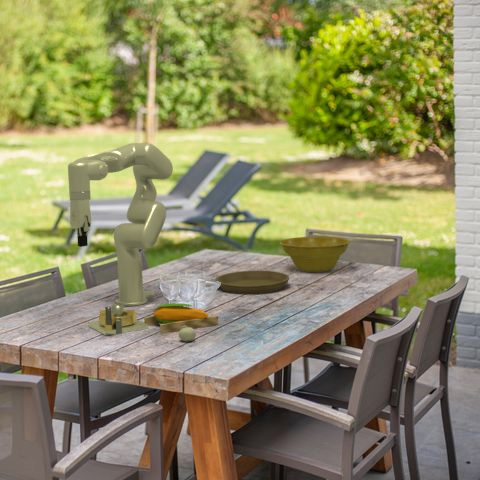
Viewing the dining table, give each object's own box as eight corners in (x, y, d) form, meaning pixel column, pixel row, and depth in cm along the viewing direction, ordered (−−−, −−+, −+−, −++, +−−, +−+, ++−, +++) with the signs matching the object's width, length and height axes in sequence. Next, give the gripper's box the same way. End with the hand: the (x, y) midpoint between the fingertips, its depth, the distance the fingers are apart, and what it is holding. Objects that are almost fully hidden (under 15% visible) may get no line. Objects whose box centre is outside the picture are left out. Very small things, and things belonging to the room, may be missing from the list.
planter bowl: (304, 261, 462) (303, 234, 460) (363, 267, 443) (363, 238, 441) (266, 272, 436) (265, 243, 434) (327, 279, 418) (327, 248, 416)
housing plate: (130, 320, 351) (129, 298, 350) (148, 329, 337) (148, 306, 335) (88, 326, 343) (87, 304, 342) (105, 335, 329) (104, 312, 328)
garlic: (175, 341, 319) (174, 326, 318) (184, 338, 323) (184, 322, 322) (190, 343, 316) (189, 328, 315) (199, 340, 320) (198, 324, 319)
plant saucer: (249, 299, 383) (249, 287, 382) (200, 288, 406) (200, 277, 405) (304, 287, 403) (304, 276, 402) (255, 277, 426) (254, 267, 425)
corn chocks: (199, 317, 353) (199, 309, 352) (218, 324, 340) (218, 316, 340) (144, 325, 342) (144, 317, 342) (161, 333, 330) (161, 325, 329)
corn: (157, 299, 346) (210, 301, 341) (158, 319, 347) (211, 321, 343) (150, 305, 339) (205, 307, 334) (151, 326, 340) (206, 328, 336)
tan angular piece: (105, 318, 347) (104, 296, 346) (139, 318, 345) (138, 296, 344) (90, 330, 329) (89, 307, 328) (126, 330, 328) (125, 307, 326)
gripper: (63, 195, 354) (66, 244, 357) (77, 198, 341) (80, 249, 344) (82, 193, 358) (85, 242, 361) (97, 197, 345) (100, 247, 348)
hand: (82, 245), depth 352 cm, fingers closed
